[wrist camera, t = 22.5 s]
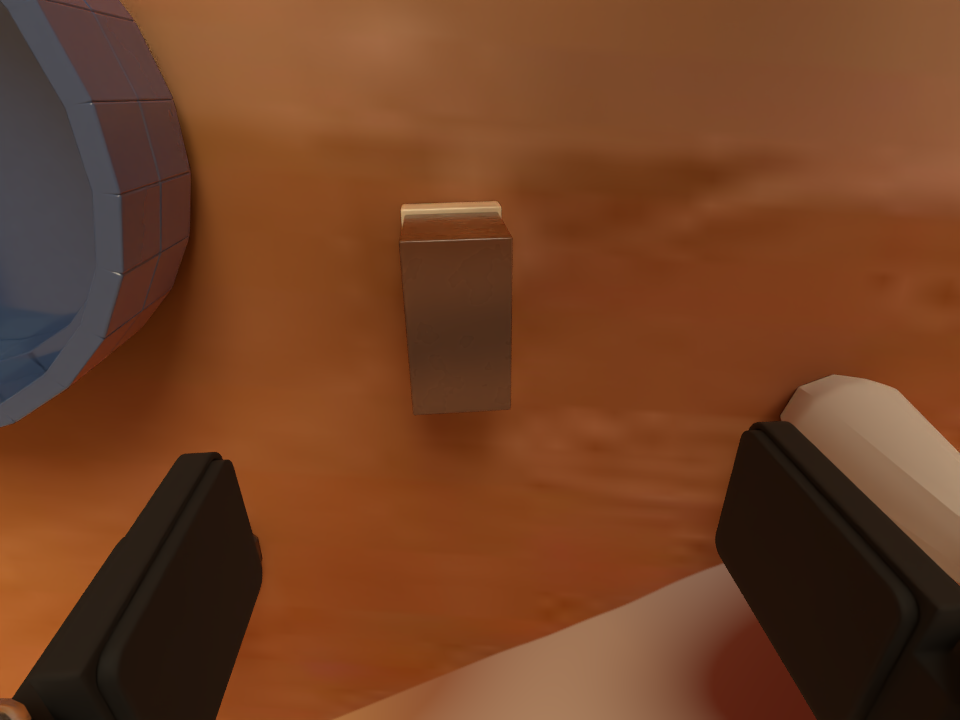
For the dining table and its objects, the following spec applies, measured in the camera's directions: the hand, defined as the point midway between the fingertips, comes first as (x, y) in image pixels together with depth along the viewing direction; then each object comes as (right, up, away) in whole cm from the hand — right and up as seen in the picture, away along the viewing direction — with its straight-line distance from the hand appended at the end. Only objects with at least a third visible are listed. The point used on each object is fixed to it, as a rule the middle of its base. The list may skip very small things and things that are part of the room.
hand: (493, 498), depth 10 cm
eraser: (-1, +6, +14) cm, 15 cm away
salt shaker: (+18, 0, +19) cm, 26 cm away
